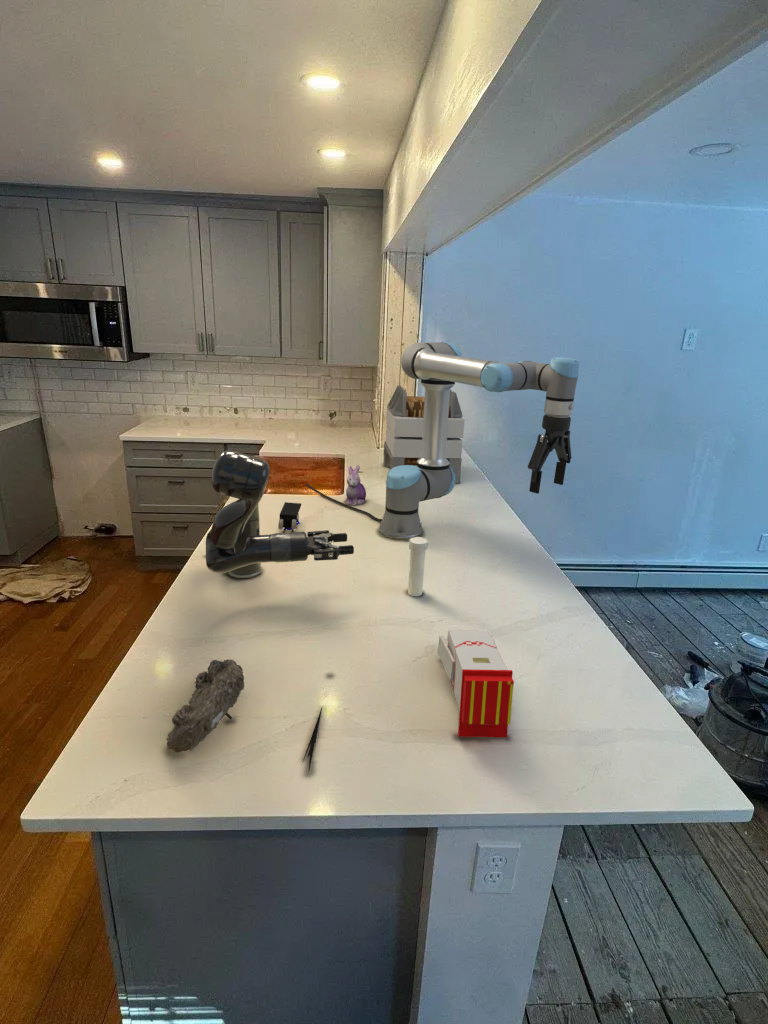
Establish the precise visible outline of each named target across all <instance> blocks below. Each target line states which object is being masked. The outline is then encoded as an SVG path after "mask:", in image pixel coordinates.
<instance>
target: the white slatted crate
mask: <svg viewBox="0 0 768 1024" xmlns="http://www.w3.org/2000/svg"><path fill="white" fill-rule="evenodd" d="M407 394H408V393H407V390H406V389H404V388H403V387H402V385H399V384H398V385H397V386H396V388H395V390H394V392H393V394H392V395H391V398H390V400H389V402H388V404H387V405H386V413H385V414H386V415H385V423H386V428H385V438H384V442H383V466H384V467H388V468H389V470H390V469H392V468H394V467H397V466H401V465H404V466H406V465H413V466H417V460H418V459H419V458H421V456H422V438H423V418H424V398H425V396H415V395H414V396H413V395H412V396H411V395H407ZM464 429H465V419H464V418H463V411H462V408H461V405H460V402H459V398H458V395H457V392H455V391H453V390H452V389H450V398H449V414H448V429H447V445H446V459H447V460H448V461H449V462H450V465H449V466H450V467H451V468H452V469H453V473H455V484H459V483H461V472H462V461H463V460H462V453H463V442H464V441H463V440H462V439H463V438H464V431H465V430H464Z"/></svg>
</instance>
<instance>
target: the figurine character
mask: <svg viewBox="0 0 768 1024" xmlns="http://www.w3.org/2000/svg"><path fill="white" fill-rule="evenodd" d="M301 507H302V503H301V502H287V501H284V504H283V506H282V508H281V510H280V512H279V519H278V524H277V527H278V530H282V533H286V531H290V532H295V530H296V529H297V528H298V526H299V525H300V523H301V522H300V514H299V512H300V510H301Z"/></svg>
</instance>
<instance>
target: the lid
mask: <svg viewBox="0 0 768 1024" xmlns="http://www.w3.org/2000/svg"><path fill="white" fill-rule="evenodd" d="M408 541H409V542H408V543H409V544H408V549H409V550H410V551H414V552H424V551H425V552H426V551H428V546H429V543H428V539H427V538H425V537H421V536H420V537H413V538H411V539H410V540H408Z"/></svg>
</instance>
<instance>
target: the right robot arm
mask: <svg viewBox="0 0 768 1024" xmlns="http://www.w3.org/2000/svg"><path fill="white" fill-rule="evenodd" d="M400 365H401V369H402V371H403V372H404V374H405V375H406V376H407V377H409V378H412V379H413V380H420V384H421V385H422V386H423V388H424V397H425V398H424V418H423V438H422V456H421V458H419V459H418V460H417V466H413V465H401V466H397V467H394V468H392V469H390V468H389V470H388V472H387V475H386V479H385V504H384V505H385V507H384V508H385V509H384V513H383V515H382V518H378V517H376V516H375V515H373V514H372V513H370V512H369V511H365V510H363V509H360V508H358V507H355V506H353V505H350V504H347V503H345V502H342V501H339V500H337V499H335V498H332V497H330V496H328V495H326V494H324V493H322V491H321V492H320V491H319V490H317V488H314V487H313V486H312V485H310V484H309V483H307V482H306V483H305V484H304V485H305V486H306V487H307V488H309V489H310V490H312V491H313V492H315V493H316V494H318V495H320V496H322V497H324V498H325V499H327V500H330V501H331V502H333V503H335V504H338V505H340V506H343V507H345V508H348V509H350V510H353V511H356V512H359V513H362V514H364V515H367V516H369V517H370V518H372V519H373V520H374V521H377V522H379V526H378V533H379V534H380V535H381V536H382V537H385V538H387V539H389V540H395V541H410V539H411V538H413V537H421V536H422V535H423V525H422V522H421V518H420V515H419V507H420V506H419V505H420V503H421V502H425V501H428V500H435V499H441V498H442V497H446V496H448V495H449V494H450V493H451V492H452V491H453V489H454V488H455V484H456V483H455V473H453V469H452V468H451V467H450V466H449V465H450V462H449V461H448V460H447V459H446V445H447V429H448V414H449V398H450V390H452V388H453V387H454V386H455V385H456V383H457V384H463V385H468V386H474V387H479V388H484V389H485V390H486V391H487V392H490V393H503V392H512V391H524V390H535V391H542V392H546V394H545V402H544V407H543V413H544V415H543V416H542V423H541V428H542V429H543V430H545V432H544V434H541V433H539V434H538V435H537V440H536V444H535V446H534V449H533V452H532V454H531V457H530V459H529V462H528V464H527V468H528V470H531V474H530V483H529V490H528V491H529V492H530V493H532V494H533V493H534V494H537V495H539V494H540V490H541V483H542V482H541V481H542V475H543V471H542V468H543V466H544V464H545V462H546V461H547V459H548V457H549V455H550V453H551V452H553V451H554V450H555V453H556V457H557V460H558V461H556V465H555V471H554V477H553V478H554V479H553V484H556V485H559V486H563V485H564V482H565V473H566V468H567V464H571V460H572V448H571V430H570V428H571V422H572V421H571V420H572V418H571V417H570V416H572V414H573V409H574V407H575V406H574V401H575V394H576V389H577V383H578V378H579V369H580V361H579V360H578V359H576V358H572V357H557V356H556V357H552V358H551V360H550V363H546V362H545V363H544V362H536V361H532V360H518V361H517V362H502V361H501V362H500V361H494V360H487V359H480V358H473V357H466V356H463V354H462V351H461V350H460V349H459V347H458V346H457V345H456V344H454V343H451V342H445V341H441V342H440V341H439V342H438V341H436V342H415V343H412V344H410V345H408V347H405V350H404V351H403V352H402V354H401V359H400Z"/></svg>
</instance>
